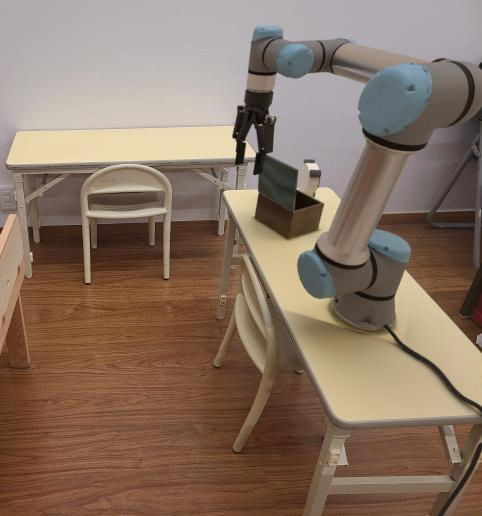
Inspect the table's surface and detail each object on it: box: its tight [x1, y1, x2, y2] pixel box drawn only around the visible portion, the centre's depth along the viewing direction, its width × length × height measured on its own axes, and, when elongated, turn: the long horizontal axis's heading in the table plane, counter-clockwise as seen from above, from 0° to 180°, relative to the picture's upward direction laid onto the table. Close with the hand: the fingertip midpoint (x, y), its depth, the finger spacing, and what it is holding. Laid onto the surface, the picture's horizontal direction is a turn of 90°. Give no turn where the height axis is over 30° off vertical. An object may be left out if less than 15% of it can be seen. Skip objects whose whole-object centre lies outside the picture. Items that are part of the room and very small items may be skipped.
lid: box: [257, 153, 299, 212], centre depth 157 cm, size 14×17×1 cm
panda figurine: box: [298, 158, 322, 200], centre depth 179 cm, size 12×11×15 cm
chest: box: [253, 189, 325, 240], centre depth 167 cm, size 14×17×10 cm
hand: (248, 168), depth 145 cm, fingers open, 8 cm apart
